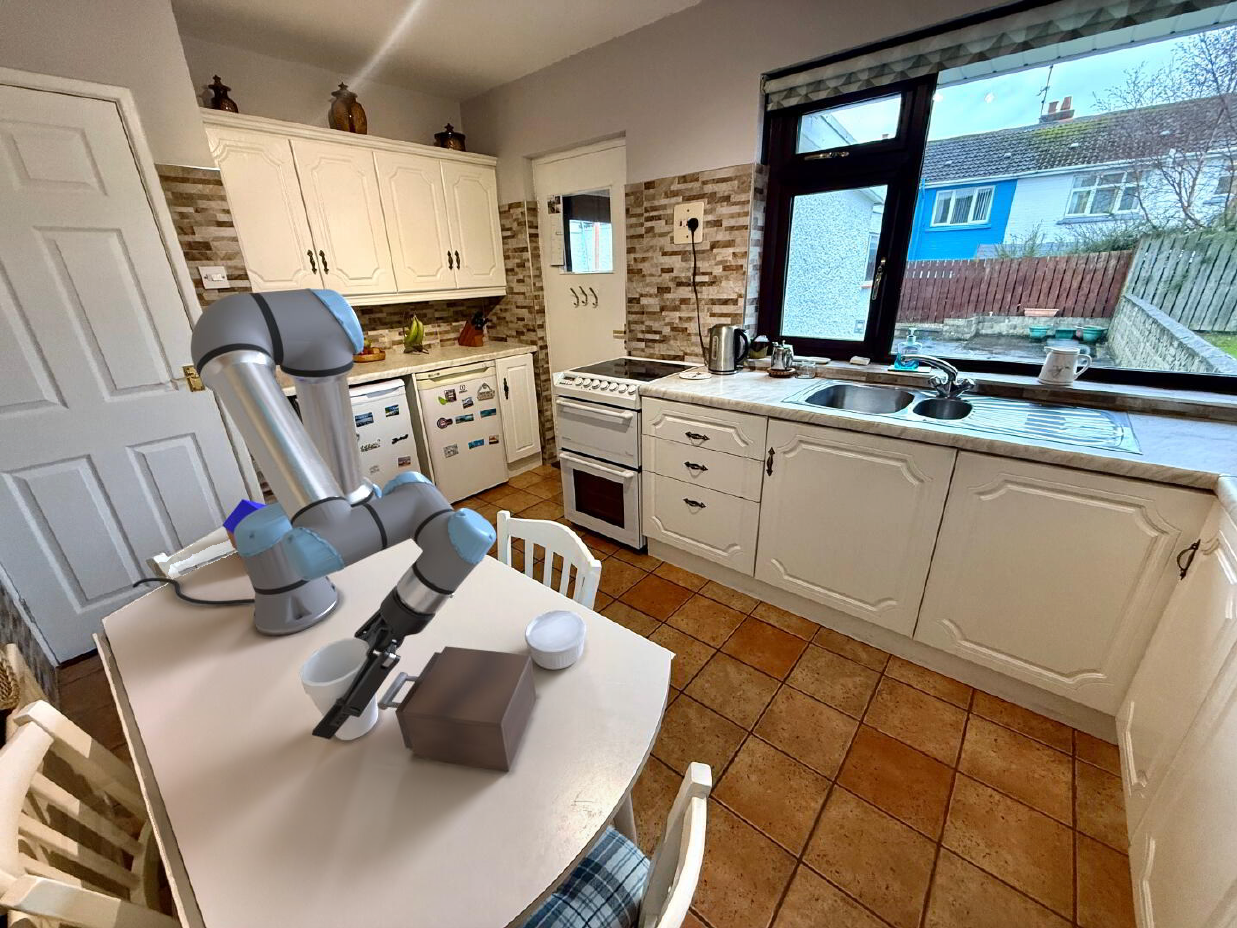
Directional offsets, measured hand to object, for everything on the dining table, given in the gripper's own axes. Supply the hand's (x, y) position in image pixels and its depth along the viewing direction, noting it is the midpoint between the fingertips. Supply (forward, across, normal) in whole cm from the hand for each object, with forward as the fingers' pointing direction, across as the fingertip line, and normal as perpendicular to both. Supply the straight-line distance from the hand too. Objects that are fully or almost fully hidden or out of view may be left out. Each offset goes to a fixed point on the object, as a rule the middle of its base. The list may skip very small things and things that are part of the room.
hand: (327, 707), depth 75 cm
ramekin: (-23, +2, -30) cm, 37 cm away
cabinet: (-12, -8, -18) cm, 23 cm away
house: (+20, +66, +13) cm, 70 cm away
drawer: (-9, -6, -15) cm, 19 cm away
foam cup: (+1, 0, -6) cm, 6 cm away
